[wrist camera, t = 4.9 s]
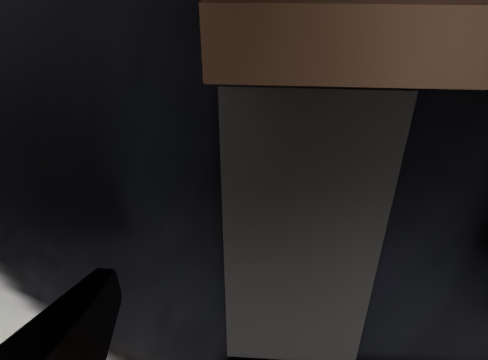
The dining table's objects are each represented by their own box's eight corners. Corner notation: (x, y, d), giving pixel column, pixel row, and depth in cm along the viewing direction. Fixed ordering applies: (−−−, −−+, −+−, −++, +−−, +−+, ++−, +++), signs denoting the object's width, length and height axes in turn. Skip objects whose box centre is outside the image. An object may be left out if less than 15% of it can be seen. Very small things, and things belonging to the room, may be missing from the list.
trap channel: (229, 381, 14) (222, 442, 12) (216, -13, 7) (199, 2, 6) (590, 404, 13) (637, 473, 12) (920, -8, 7) (1136, 11, 5)
